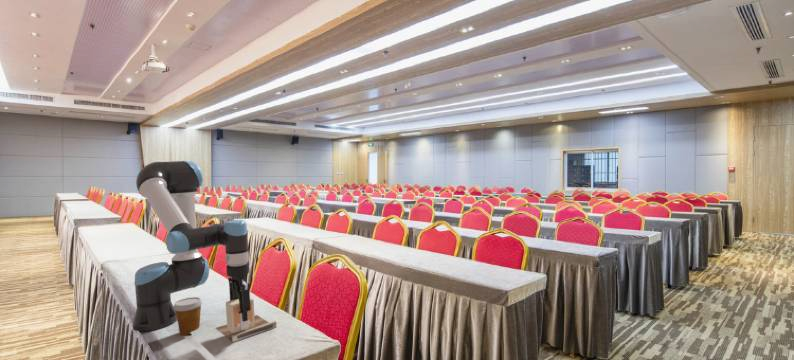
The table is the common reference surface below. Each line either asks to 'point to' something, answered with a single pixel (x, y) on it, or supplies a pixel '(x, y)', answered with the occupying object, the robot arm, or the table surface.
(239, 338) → the shelf board
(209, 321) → the table surface
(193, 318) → the disposable coffee cup
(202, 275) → the robot arm
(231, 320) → the carton
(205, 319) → the table surface
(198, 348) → the table surface
